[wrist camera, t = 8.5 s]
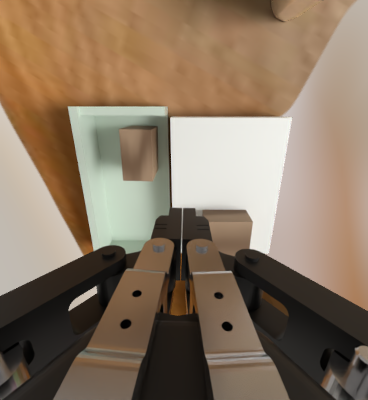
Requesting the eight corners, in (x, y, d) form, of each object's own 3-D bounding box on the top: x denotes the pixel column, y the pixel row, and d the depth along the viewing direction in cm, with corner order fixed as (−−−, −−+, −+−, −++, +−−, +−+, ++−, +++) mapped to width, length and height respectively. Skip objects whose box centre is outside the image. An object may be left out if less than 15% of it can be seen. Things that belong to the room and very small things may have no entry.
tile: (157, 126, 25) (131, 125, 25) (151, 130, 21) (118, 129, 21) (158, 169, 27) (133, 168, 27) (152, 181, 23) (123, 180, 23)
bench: (172, 116, 25) (170, 117, 22) (278, 116, 25) (292, 117, 22) (174, 237, 31) (173, 252, 28) (260, 238, 31) (268, 253, 28)
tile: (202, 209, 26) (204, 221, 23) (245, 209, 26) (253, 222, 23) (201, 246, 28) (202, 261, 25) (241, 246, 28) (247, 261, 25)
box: (87, 106, 25) (67, 106, 21) (167, 106, 25) (163, 106, 21) (108, 243, 32) (96, 263, 28) (171, 244, 32) (168, 264, 28)
